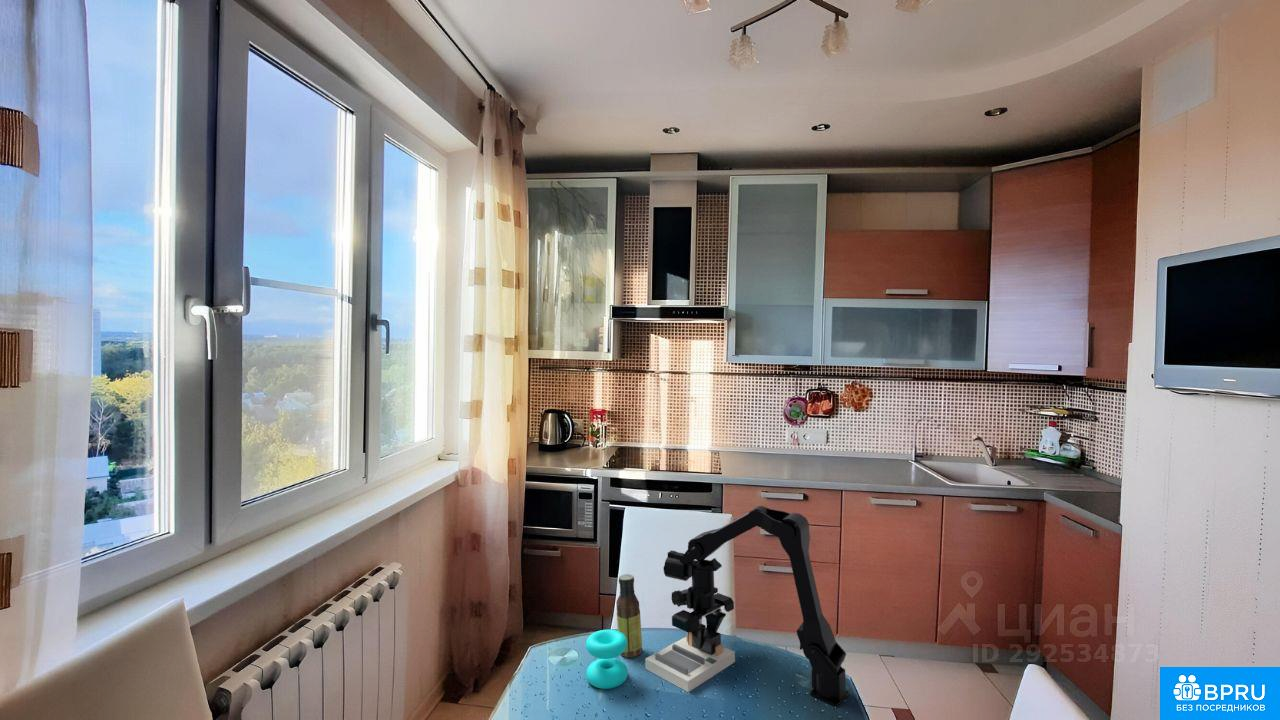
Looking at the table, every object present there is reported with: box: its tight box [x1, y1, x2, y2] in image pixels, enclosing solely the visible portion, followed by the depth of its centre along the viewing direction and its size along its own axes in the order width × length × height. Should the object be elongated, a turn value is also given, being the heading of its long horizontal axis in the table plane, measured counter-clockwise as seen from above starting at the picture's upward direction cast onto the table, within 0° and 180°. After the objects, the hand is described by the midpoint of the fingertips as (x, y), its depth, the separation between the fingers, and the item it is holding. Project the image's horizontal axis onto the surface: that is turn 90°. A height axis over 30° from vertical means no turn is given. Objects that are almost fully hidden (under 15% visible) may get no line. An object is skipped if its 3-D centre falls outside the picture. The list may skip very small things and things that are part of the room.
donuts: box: [585, 629, 629, 690], centre depth 129 cm, size 10×10×10 cm
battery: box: [687, 626, 722, 655], centre depth 138 cm, size 8×4×4 cm, turn 44°
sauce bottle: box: [615, 573, 643, 658], centre depth 141 cm, size 7×6×20 cm
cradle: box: [644, 633, 736, 693], centre depth 134 cm, size 14×18×4 cm
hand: (704, 645), depth 138 cm, fingers open, 4 cm apart
